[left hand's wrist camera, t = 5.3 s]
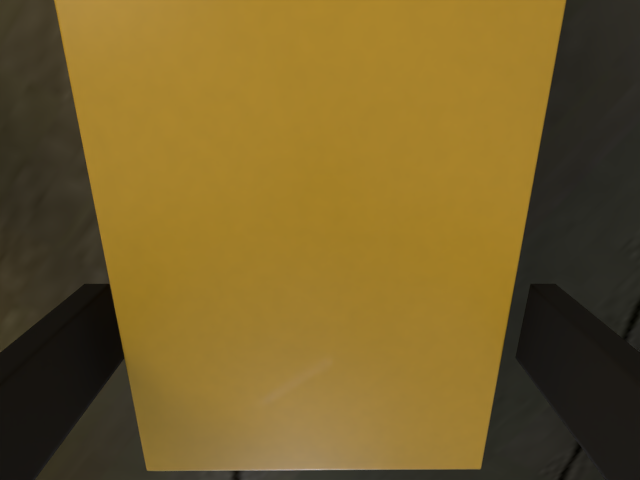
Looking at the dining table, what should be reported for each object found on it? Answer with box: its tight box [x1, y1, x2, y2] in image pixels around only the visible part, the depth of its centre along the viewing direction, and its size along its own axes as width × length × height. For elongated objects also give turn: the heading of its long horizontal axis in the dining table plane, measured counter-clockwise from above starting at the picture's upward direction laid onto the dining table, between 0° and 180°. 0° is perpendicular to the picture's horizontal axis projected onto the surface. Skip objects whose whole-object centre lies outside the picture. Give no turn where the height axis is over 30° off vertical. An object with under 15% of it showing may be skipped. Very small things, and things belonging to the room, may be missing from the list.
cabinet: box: [54, 0, 566, 471], centre depth 14 cm, size 20×10×10 cm, turn 0°
